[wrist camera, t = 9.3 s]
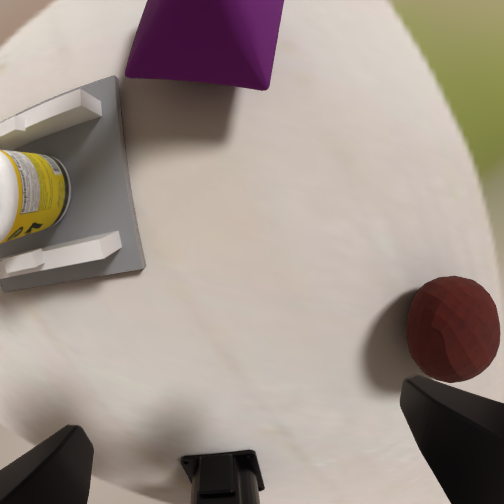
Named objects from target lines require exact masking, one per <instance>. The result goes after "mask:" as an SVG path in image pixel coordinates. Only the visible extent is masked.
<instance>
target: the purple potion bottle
mask: <svg viewBox="0 0 504 504" xmlns="http://www.w3.org/2000/svg"><path fill="white" fill-rule="evenodd" d="M283 3H284V0H148V1H147V3H146V6H145V9H144V12H143V14H142V17H141V20H140V23H139V26H138V29H137V32H136V36H135V39H134V42H133V45H132V49H131V52H130V56H129V59H128V63H127V66H126V70H125V76H126V77H128V78H145V79H167V80H182V81H193V82H204V83H213V84H221V85H229V86H236V87H243V88H249V89H255V90H261V91H263V90H267V89H268V88H269V85H270V79H271V73H272V68H273V62H274V56H275V50H276V44H277V38H278V32H279V26H280V21H281V15H282V9H283Z"/></svg>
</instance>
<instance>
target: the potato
mask: <svg viewBox="0 0 504 504" xmlns="http://www.w3.org/2000/svg"><path fill="white" fill-rule="evenodd" d="M407 342H408V347H409V351H410V353H411V356H412V358H413V359H414V361H415V362H416V364H417V365H418V366H419V368H420V369H421V370H422V371H423V372H424V373H425V374H426V375H428V376H430V377H432V378H434V379H436V380H439V381H444V382H448V383H454V382H461V381H466V380H469V379H471V378H473V377H475V376H477V375H479V374H480V373H482V372H483V371H484V370H485V369H486V368H487V367H488V366H489V365H490V364H491V362H492V361H493V359H494V358H495V356H496V354H497V351H498V348H499V344H500V323H499V317H498V313H497V308H496V305H495V303H494V301H493V299H492V298H491V296H490V294H489V293H488V292H487V291H486V290H485V289H484V288H483V287H482V286H481V285H480V284H478V283H477V282H475V281H474V280H471V279H467V278H462V277H458V276H449V277H439V278H437V279H434V280H432V281H430V282H427V283H425V284H424V285H423V286H422V287H421V288H420V289H419V290H418V291H417V293H416V295H415V297H414V298H413V300H412V303H411V306H410V309H409V313H408V318H407Z"/></svg>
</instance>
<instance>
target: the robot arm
mask: <svg viewBox="0 0 504 504" xmlns="http://www.w3.org/2000/svg"><path fill="white" fill-rule="evenodd" d="M400 407H401V409H402V412H403V414H404V416H405V418H406V420H407V423H408V425H409V427H410V429H411V432H412V434H413V436H414V438H415V441H416V443H417V445H418V447H419V449H420V451H421V453H422V455H423V456H424V458H425V460H426V461H427V463H428V465H429V466H430V468H431V470H432V471H433V473H434V475H435V476H436V478H437V480H438V482H439V483H440V485H441V487H442V488H443V490H444V492H445V494H446V495H447V497H448V499H449V501H450V502H451V504H504V403H501V402H497V401H494V400H491V399H488V398H485V397H482V396H479V395H475V394H472V393H469V392H466V391H463V390H460V389H457V388H454V387H451V386H449V385H446V384H443V383H440V382H437V381H434V380H431V379H429V378H426V377H423V376H420V375H413V376H410V377H408V378H405V379H404V380H403V382H402V389H401V396H400ZM93 454H94V449H93V445H92V443H91V442H90V440H89V438H88V437H87V435H86V433H85V432H84V430H83V428H82V427H81V426H79V425H66V426H65V427H63V428H62V429H60V430H59V431H58V432H56V433H55V434H53V435H52V436H50V437H49V438H47V439H46V440H45V441H43V442H42V443H40V444H39V445H37V446H36V447H34V448H33V449H32V450H30V451H28V452H27V453H25V454H24V455H22V456H21V457H19V458H18V459H16V460H15V461H14V462H12V463H10V464H9V465H8V466H6V467H4V468H3V469H1V470H0V504H87V501H88V496H89V489H90V480H91V470H92V462H93ZM181 464H182V466H183V468H184V470H185V472H186V474H187V476H188V478H189V480H190V481H191V483H192V492H191V504H260V500H259V492H258V491H262V490H264V489H265V487H264V483H263V479H262V475H261V471H260V467H259V463H258V459H257V455H256V452H255V451H253V450H246V451H239V452H230V453H221V454H210V455H197V456H183V457H182V458H181Z"/></svg>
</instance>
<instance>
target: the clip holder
mask: <svg viewBox="0 0 504 504" xmlns="http://www.w3.org/2000/svg"><path fill="white" fill-rule="evenodd" d="M0 150H7V151H17V152H26V153H35V154H44V155H49V156H53V157H55V158H56V159H58V160H59V161H60V162H61V163H62V164H63V165H64V167H65V168H66V170H67V172H68V175H69V178H70V183H71V198H70V203H69V206H68V209H67V211H66V213H65V214H64V216H63V217H62V219H61V220H60V221H59V222H58V223H56V224H55V225H54V226H52V227H50V228H47V229H44V230H41V231H38V232H35V233H32V234H28V235H25V236H22V237H19V238H16V239H13V240H10V241H7V242H4V243H1V244H0V283H1V286H2V290H3V292H9V291H14V290H20V289H26V288H32V287H38V286H44V285H50V284H56V283H62V282H68V281H74V280H80V279H86V278H92V277H98V276H104V275H109V274H115V273H121V272H127V271H133V270H139V269H143V268H144V267H145V266H146V263H145V258H144V254H143V249H142V244H141V239H140V235H139V230H138V224H137V219H136V214H135V208H134V203H133V197H132V191H131V185H130V179H129V172H128V165H127V158H126V150H125V143H124V134H123V125H122V116H121V105H120V93H119V79H118V78H117V77H116V76H115V75H114V76H111V77H108V78H105V79H101V80H98V81H95V82H93V83H90V84H87V85H84V86H81V87H78V88H76V89H73V90H70V91H68V92H65V93H63V94H60V95H58V96H55V97H53V98H51V99H48V100H46V101H44V102H41V103H39V104H37V105H35V106H33V107H30V108H28V109H26V110H24V111H22V112H20V113H18V114H16V115H14V116H12V117H10V118H8V119H6V120H4V121H2V122H0Z"/></svg>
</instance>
